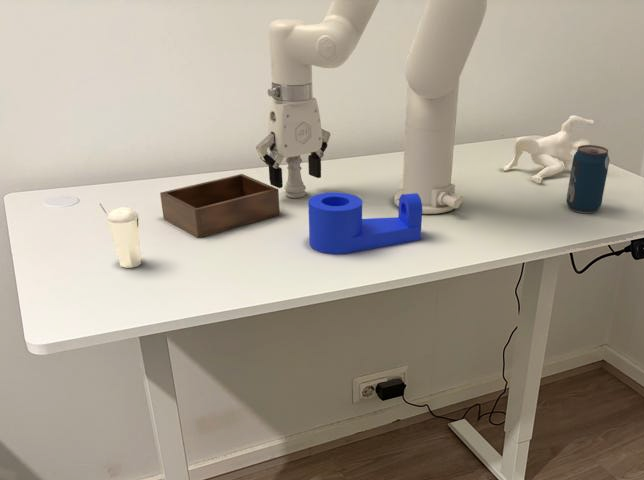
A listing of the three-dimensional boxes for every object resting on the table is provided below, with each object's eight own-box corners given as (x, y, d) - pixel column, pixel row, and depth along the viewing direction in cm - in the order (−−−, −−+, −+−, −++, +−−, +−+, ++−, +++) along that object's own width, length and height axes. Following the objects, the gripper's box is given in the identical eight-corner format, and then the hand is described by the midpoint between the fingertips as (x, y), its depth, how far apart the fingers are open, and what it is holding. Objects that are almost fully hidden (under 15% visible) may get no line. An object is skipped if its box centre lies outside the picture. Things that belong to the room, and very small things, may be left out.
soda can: (606, 209, 148) (618, 149, 142) (588, 217, 144) (599, 156, 137) (576, 200, 152) (586, 142, 146) (558, 207, 148) (568, 148, 141)
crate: (243, 198, 145) (242, 173, 142) (279, 214, 138) (278, 189, 135) (163, 219, 134) (159, 192, 131) (198, 237, 127) (195, 210, 124)
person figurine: (533, 134, 153) (594, 110, 161) (495, 133, 164) (553, 110, 171) (542, 194, 159) (600, 168, 166) (504, 189, 169) (561, 165, 177)
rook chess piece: (308, 192, 149) (307, 153, 145) (303, 199, 146) (302, 159, 141) (286, 190, 150) (285, 151, 145) (281, 197, 146) (279, 158, 142)
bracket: (317, 256, 122) (316, 213, 118) (303, 236, 130) (302, 194, 126) (425, 244, 129) (428, 202, 125) (406, 225, 136) (408, 185, 132)
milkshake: (114, 258, 119) (103, 198, 113) (148, 258, 119) (139, 198, 114) (107, 269, 115) (95, 208, 110) (142, 269, 115) (132, 209, 110)
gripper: (266, 102, 130) (272, 195, 139) (340, 89, 140) (341, 177, 149) (242, 94, 134) (249, 185, 143) (315, 83, 145) (317, 168, 154)
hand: (296, 181), depth 146 cm, fingers open, 9 cm apart
